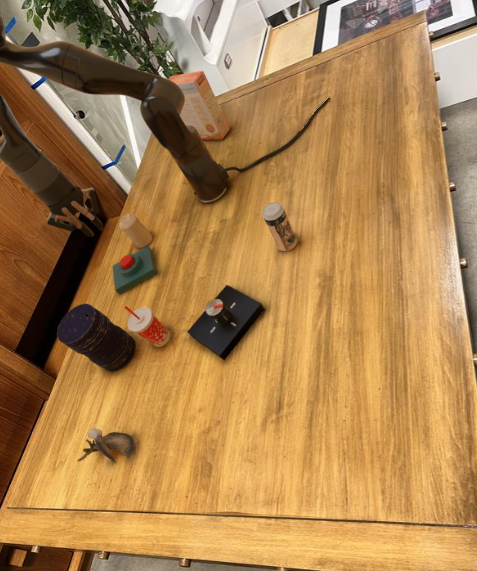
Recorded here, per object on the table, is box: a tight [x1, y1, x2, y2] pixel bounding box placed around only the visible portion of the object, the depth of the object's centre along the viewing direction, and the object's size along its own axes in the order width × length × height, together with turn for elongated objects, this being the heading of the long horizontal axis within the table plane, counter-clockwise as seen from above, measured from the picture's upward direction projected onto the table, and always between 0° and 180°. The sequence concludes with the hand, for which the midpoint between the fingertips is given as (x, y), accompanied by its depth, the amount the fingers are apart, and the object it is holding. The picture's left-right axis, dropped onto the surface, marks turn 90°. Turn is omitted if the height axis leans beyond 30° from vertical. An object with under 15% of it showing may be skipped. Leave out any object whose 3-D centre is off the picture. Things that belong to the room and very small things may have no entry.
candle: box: [118, 213, 153, 249], centre depth 112 cm, size 6×6×10 cm
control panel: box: [186, 284, 266, 362], centre depth 85 cm, size 14×11×3 cm
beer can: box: [262, 201, 298, 252], centre depth 88 cm, size 5×5×12 cm
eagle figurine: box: [76, 427, 136, 464], centre depth 77 cm, size 8×7×9 cm
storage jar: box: [56, 303, 137, 373], centre depth 88 cm, size 10×10×15 cm
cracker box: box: [168, 70, 231, 141], centre depth 128 cm, size 14×6×21 cm, turn 58°
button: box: [119, 254, 135, 269], centre depth 105 cm, size 4×4×2 cm
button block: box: [112, 245, 158, 295], centre depth 107 cm, size 12×10×4 cm
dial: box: [205, 298, 231, 326], centre depth 82 cm, size 4×4×5 cm
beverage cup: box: [124, 305, 171, 348], centre depth 86 cm, size 6×6×14 cm
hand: (96, 231), depth 96 cm, fingers closed
